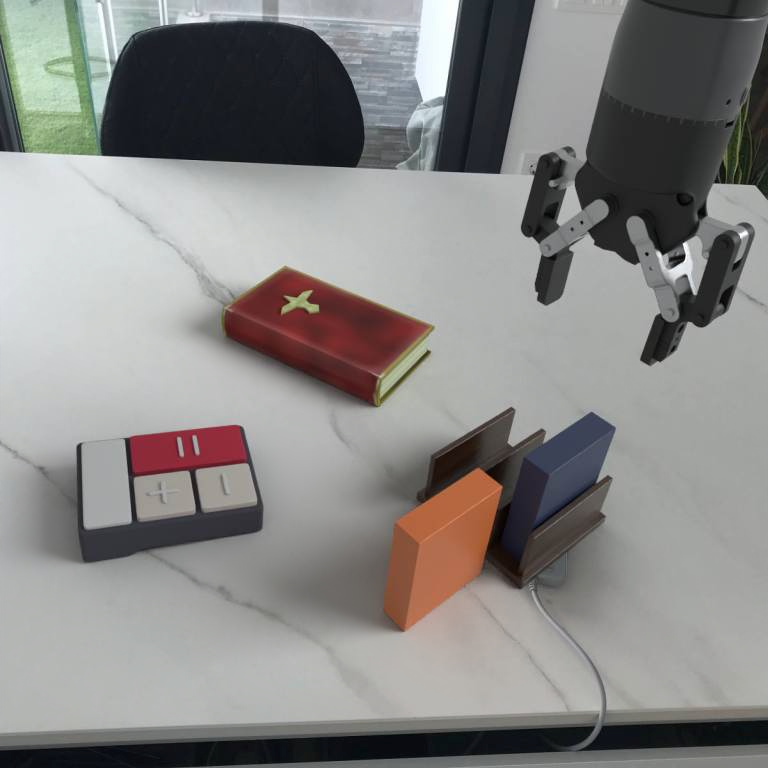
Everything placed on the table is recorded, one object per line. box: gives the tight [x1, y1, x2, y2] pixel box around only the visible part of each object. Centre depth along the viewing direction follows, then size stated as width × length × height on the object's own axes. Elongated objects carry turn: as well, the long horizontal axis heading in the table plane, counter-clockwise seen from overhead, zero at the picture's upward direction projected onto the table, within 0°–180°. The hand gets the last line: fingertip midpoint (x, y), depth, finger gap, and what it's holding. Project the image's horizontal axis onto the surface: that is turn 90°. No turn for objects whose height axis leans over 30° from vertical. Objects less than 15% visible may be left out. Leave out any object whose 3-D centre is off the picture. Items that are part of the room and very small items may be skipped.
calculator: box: [75, 424, 264, 563], centre depth 69 cm, size 11×4×15 cm
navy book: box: [500, 411, 617, 562], centre depth 66 cm, size 3×9×11 cm, turn 132°
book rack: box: [416, 406, 614, 590], centre depth 71 cm, size 13×12×6 cm
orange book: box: [382, 468, 502, 633], centre depth 61 cm, size 3×9×11 cm, turn 132°
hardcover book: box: [221, 265, 436, 408], centre depth 89 cm, size 12×21×4 cm, turn 59°
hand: (598, 328), depth 53 cm, fingers open, 8 cm apart
